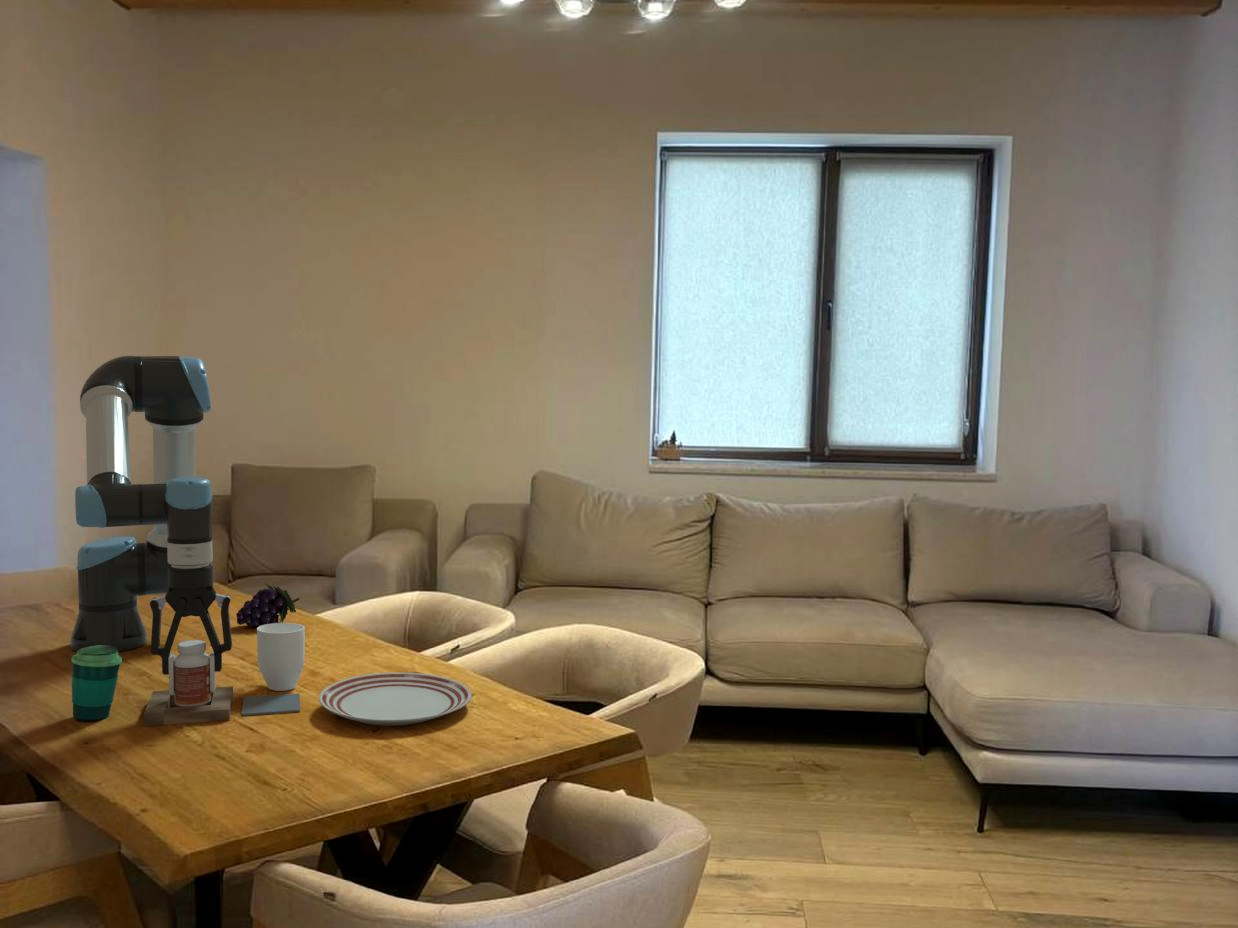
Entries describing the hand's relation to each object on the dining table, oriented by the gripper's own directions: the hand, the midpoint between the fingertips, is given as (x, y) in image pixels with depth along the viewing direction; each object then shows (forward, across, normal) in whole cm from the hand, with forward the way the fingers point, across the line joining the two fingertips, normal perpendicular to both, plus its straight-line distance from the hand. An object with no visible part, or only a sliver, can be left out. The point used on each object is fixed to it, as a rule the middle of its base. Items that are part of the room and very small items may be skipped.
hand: (192, 689), depth 200 cm
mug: (+4, +14, +12) cm, 19 cm away
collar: (+4, 0, 0) cm, 4 cm away
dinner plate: (+4, +36, -7) cm, 37 cm away
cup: (+4, -16, 0) cm, 16 cm away
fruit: (+5, +11, +62) cm, 63 cm away
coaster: (+4, +14, 0) cm, 14 cm away
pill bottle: (+3, 0, 0) cm, 3 cm away
